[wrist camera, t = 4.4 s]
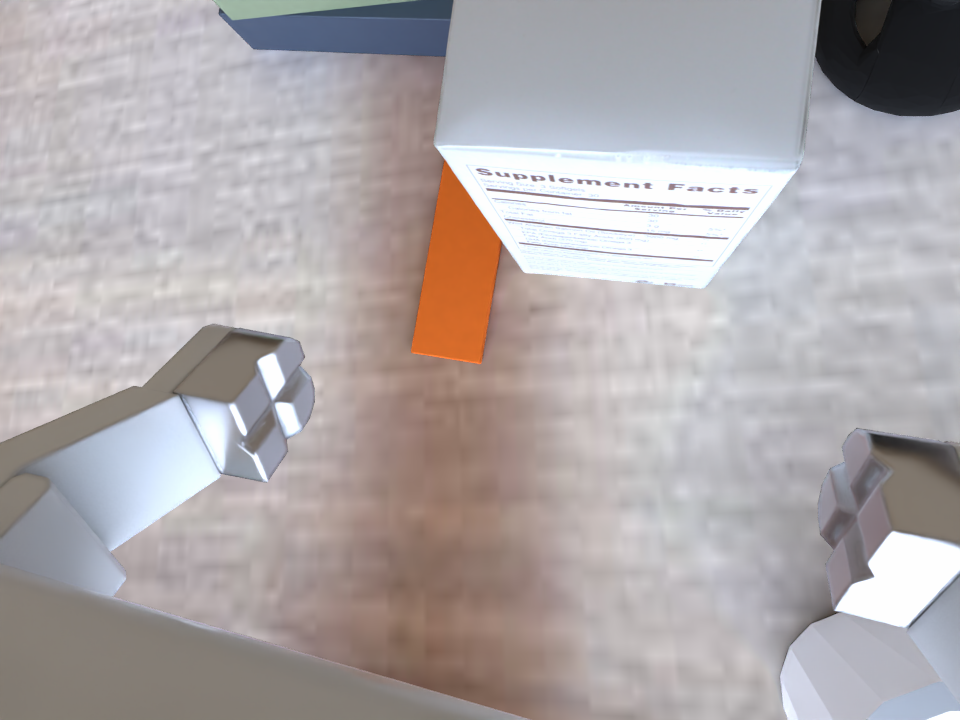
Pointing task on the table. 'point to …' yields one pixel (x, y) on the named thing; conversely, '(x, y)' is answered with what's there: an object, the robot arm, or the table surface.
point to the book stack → (342, 25)
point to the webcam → (895, 56)
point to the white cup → (861, 674)
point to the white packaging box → (626, 127)
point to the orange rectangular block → (457, 277)
